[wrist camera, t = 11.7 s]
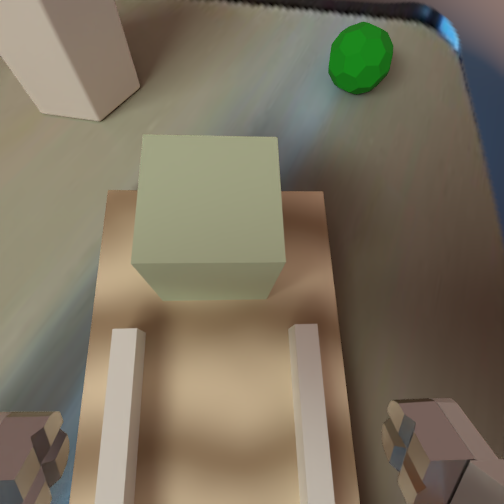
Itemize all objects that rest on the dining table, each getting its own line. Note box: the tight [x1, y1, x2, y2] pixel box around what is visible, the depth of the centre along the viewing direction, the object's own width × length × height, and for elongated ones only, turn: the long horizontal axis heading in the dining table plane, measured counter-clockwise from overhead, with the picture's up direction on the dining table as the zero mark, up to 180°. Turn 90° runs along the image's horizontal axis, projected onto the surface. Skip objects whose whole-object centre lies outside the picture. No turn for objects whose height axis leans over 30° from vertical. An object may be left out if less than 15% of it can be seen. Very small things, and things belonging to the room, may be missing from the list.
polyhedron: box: [328, 22, 393, 94], centre depth 27 cm, size 5×5×5 cm
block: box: [131, 134, 286, 301], centre depth 18 cm, size 6×6×7 cm
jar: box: [0, 0, 140, 121], centre depth 22 cm, size 9×8×12 cm
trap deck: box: [69, 190, 360, 504], centre depth 19 cm, size 28×14×2 cm, turn 2°
